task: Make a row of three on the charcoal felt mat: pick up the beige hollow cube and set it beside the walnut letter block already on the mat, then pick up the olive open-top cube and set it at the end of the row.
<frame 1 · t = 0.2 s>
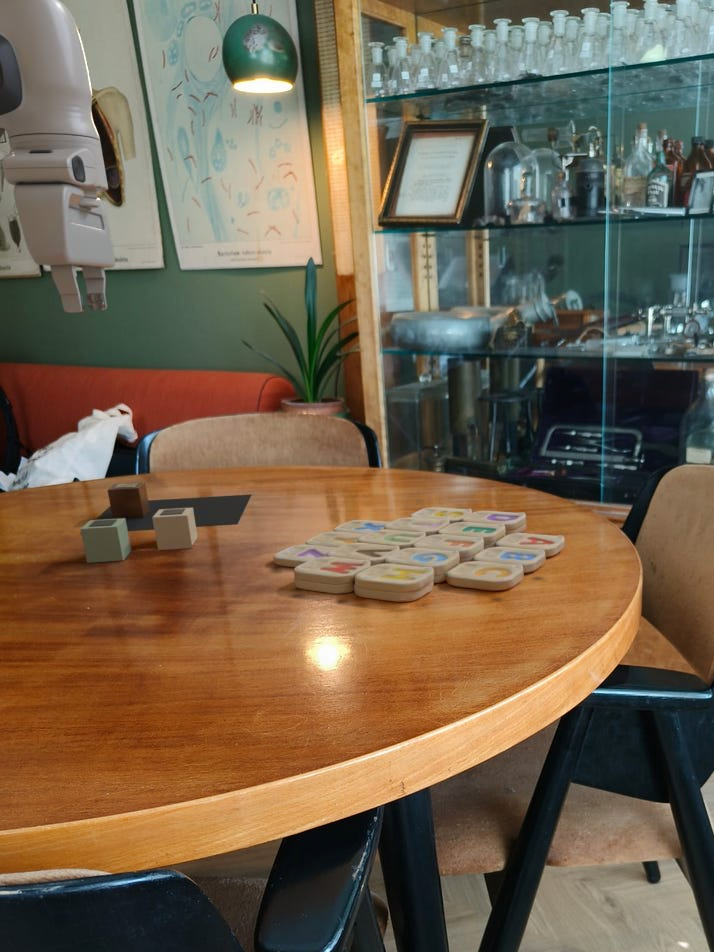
hand: (87, 311, 99), 30 cm above the table, tool pointing down, fingers open, 8 cm apart
beige hollow cube: (178, 544, 120), on the table
word mat: (172, 515, 136), on the table
olive open-top cube: (109, 557, 115), on the table
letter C: (131, 515, 135), resting on word mat
alphabet tiles: (420, 556, 111), on the table
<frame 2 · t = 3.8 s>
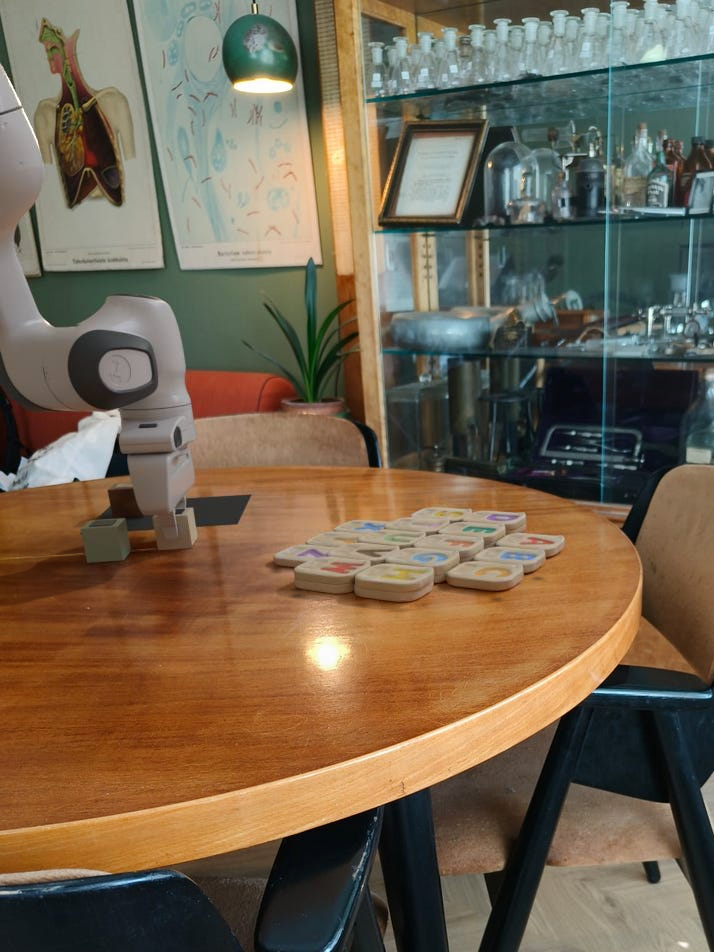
hand: (176, 532, 119), 2 cm above the table, tool pointing down, fingers closed on beige hollow cube, 4 cm apart
beige hollow cube: (178, 544, 120), on the table, touching gripper
everything else where it was.
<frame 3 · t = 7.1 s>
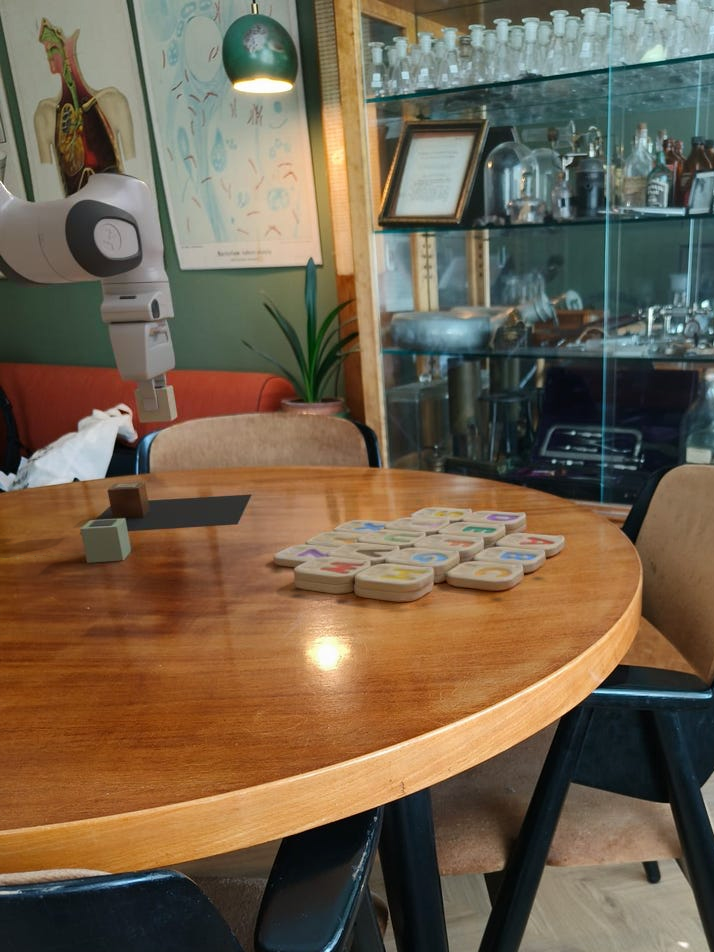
hand: (156, 407, 128), 16 cm above the table, tool pointing down, fingers closed on beige hollow cube, 4 cm apart
beige hollow cube: (158, 419, 128), point 15 cm above the table, touching gripper
everything else where it was.
when the fingers open (2 cm above the table, at t = 10.8 s): beige hollow cube stays where it is, resting on word mat.
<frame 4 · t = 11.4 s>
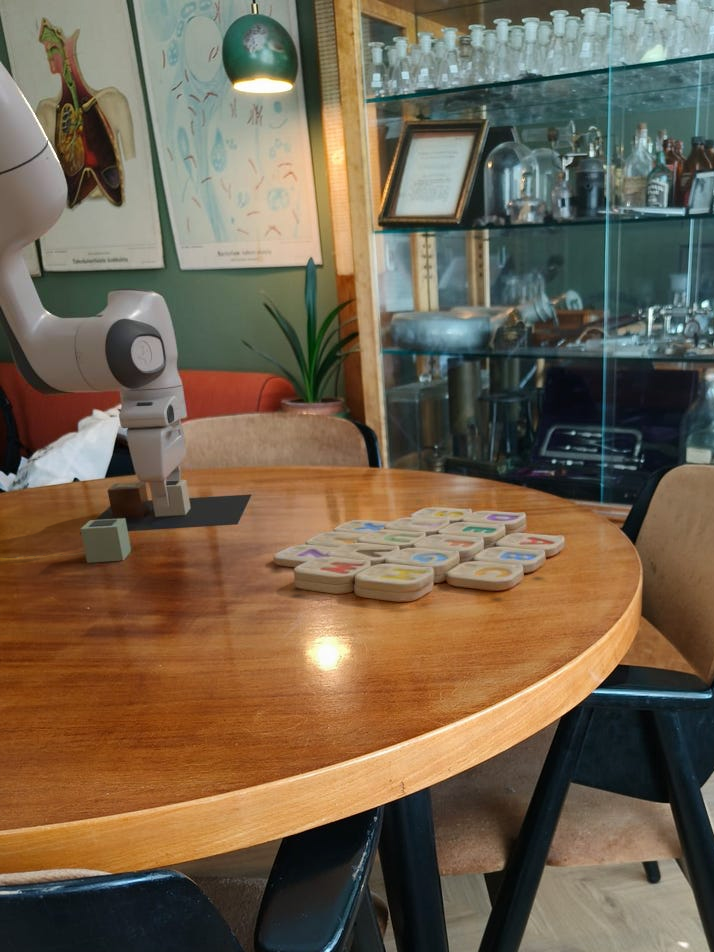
hand: (169, 500, 135), 2 cm above the table, tool pointing down, fingers open, 8 cm apart
beige hollow cube: (173, 512, 136), resting on word mat
everything else where it was.
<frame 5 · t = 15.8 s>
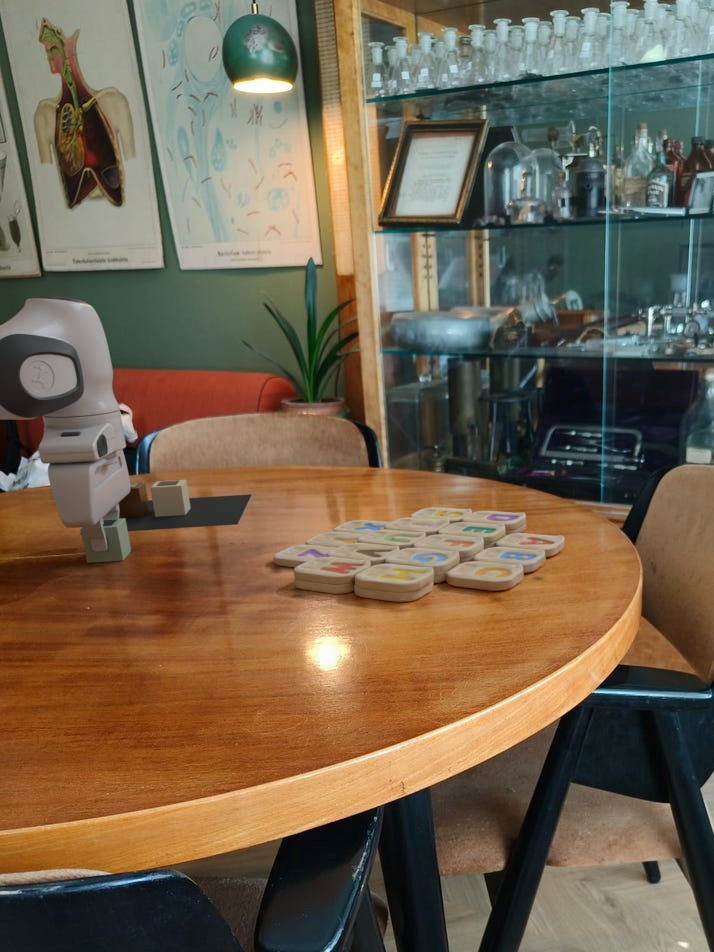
hand: (107, 544, 114), 2 cm above the table, tool pointing down, fingers closed on olive open-top cube, 4 cm apart
olive open-top cube: (109, 557, 115), on the table, touching gripper
everything else where it was.
when the fingers open (2 cm above the table, at t = 23.2 s): olive open-top cube stays where it is, resting on word mat.
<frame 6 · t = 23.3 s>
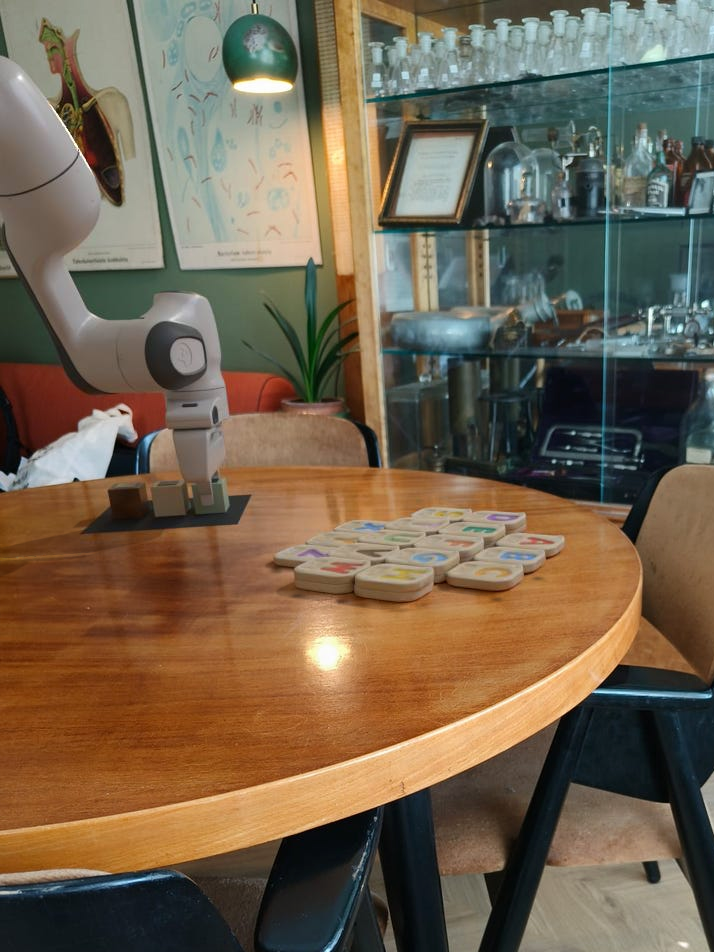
hand: (211, 500, 136), 2 cm above the table, tool pointing down, fingers open, 5 cm apart
olive open-top cube: (212, 510, 136), resting on word mat
everything else where it was.
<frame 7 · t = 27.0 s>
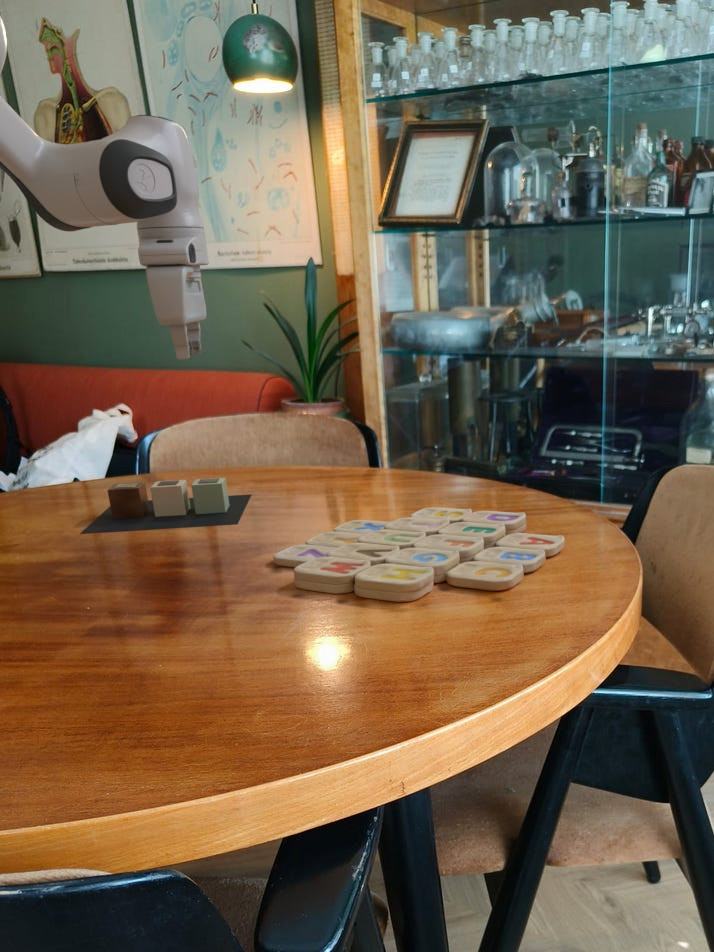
hand: (189, 356, 128), 23 cm above the table, tool pointing down, fingers open, 8 cm apart
nothing on the table moved.
at the end: beige hollow cube 0.2 cm off-centre on the word mat, point 0.4 cm above the word mat's base; olive open-top cube 0.1 cm from the target spot on the word mat, point 0.4 cm above the word mat's base; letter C moved 0.0 cm from its start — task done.
